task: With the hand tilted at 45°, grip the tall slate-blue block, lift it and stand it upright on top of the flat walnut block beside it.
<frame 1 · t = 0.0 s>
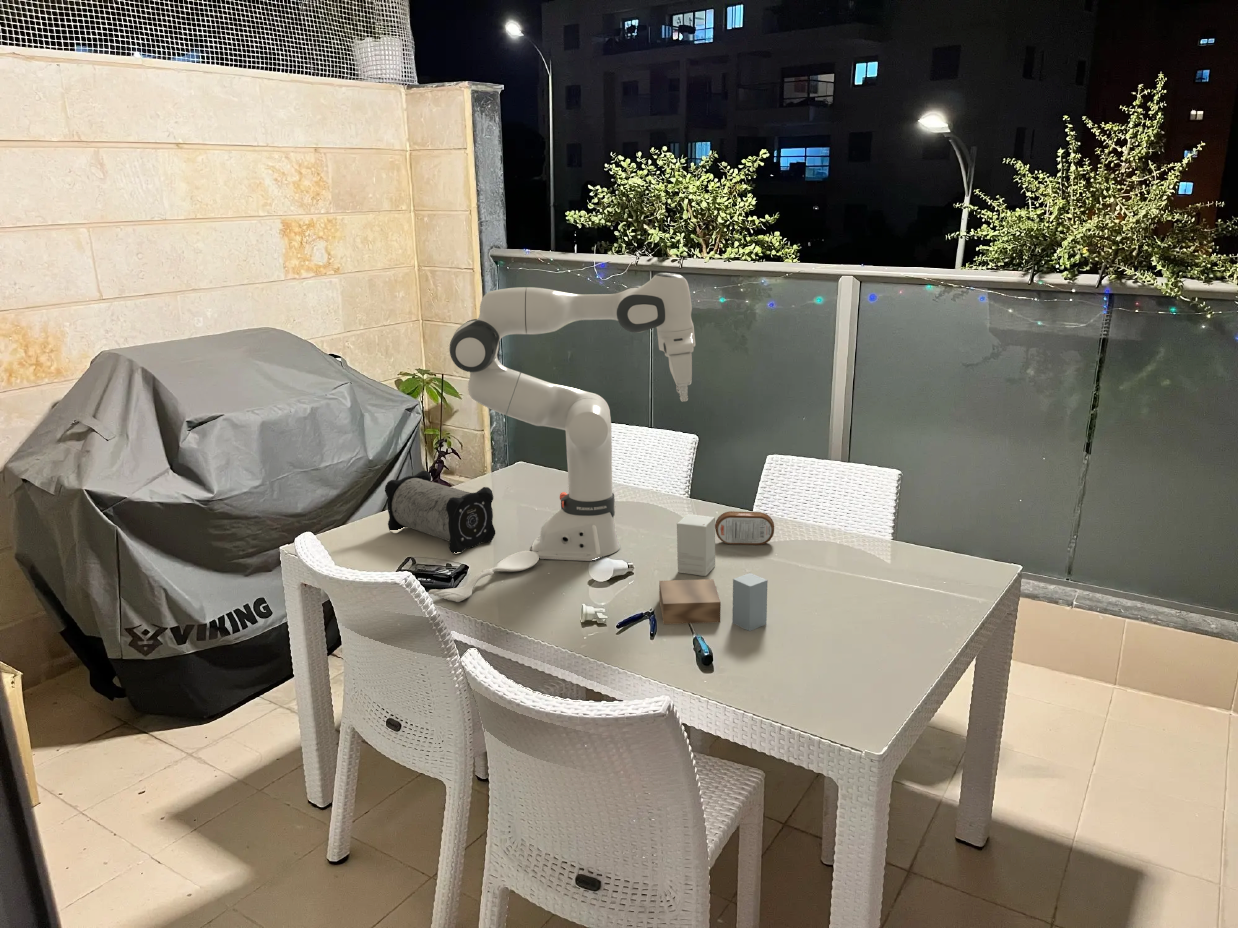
hand: (682, 396, 233), 39 cm above the table, tool pointing down, fingers open, 8 cm apart
slate block: (749, 623, 200), on the table
supplement box: (696, 570, 229), on the table
speaker: (441, 538, 253), on the table
tin: (744, 544, 244), on the table
walnut block: (689, 612, 206), on the table
spoon: (490, 583, 224), on the table
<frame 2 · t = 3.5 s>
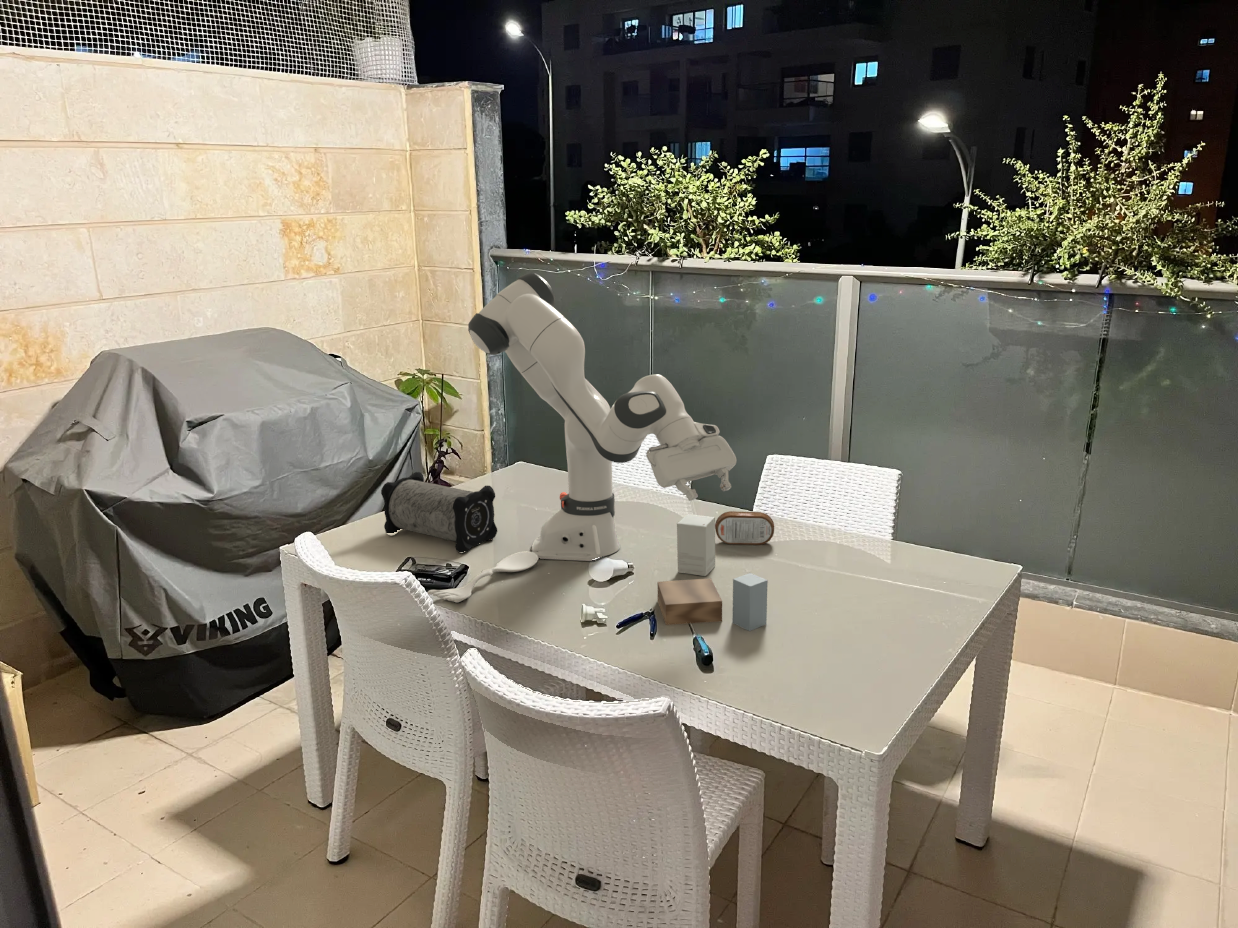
hand: (710, 494, 202), 26 cm above the table, tool tilted 45°, fingers open, 8 cm apart
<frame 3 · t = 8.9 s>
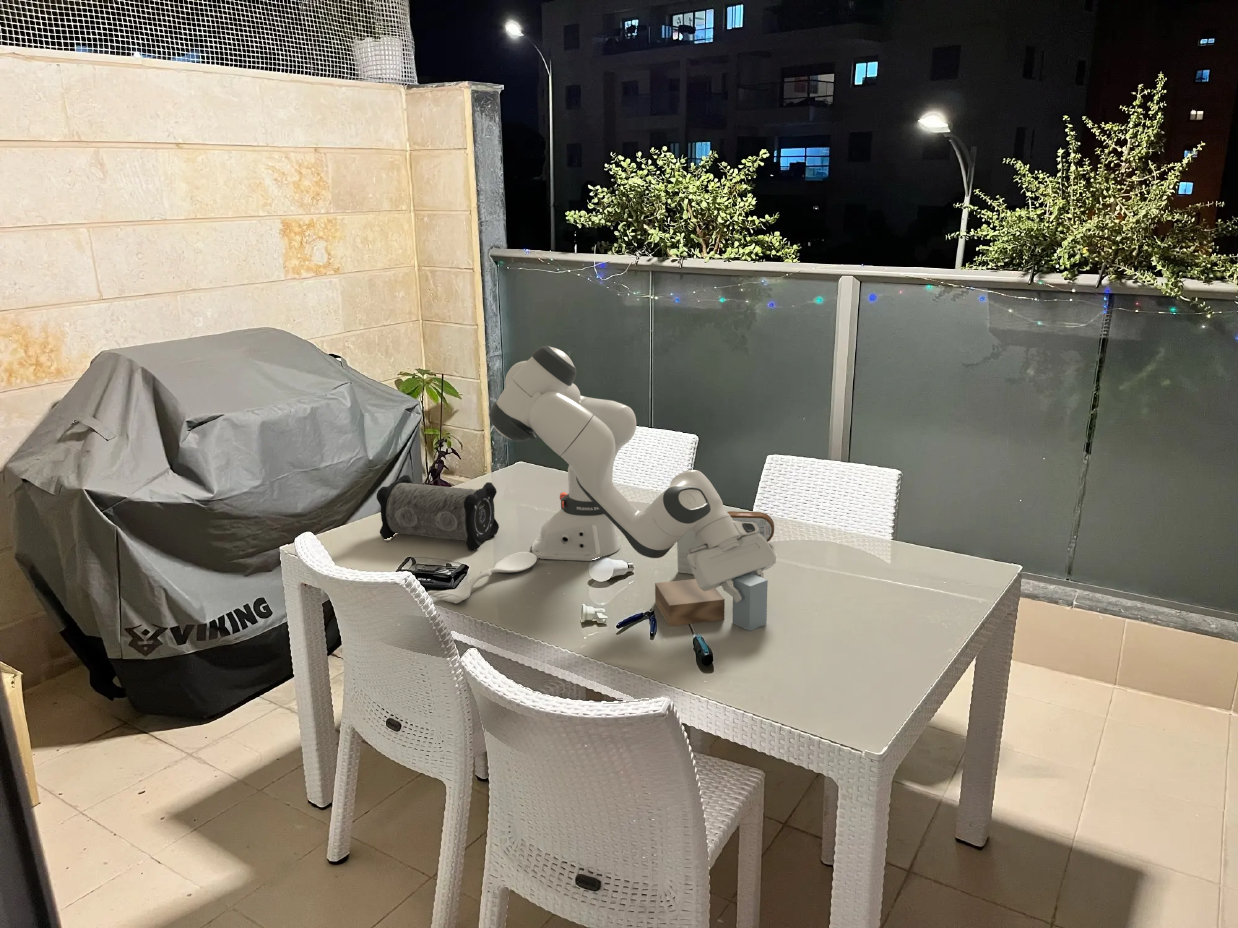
hand: (752, 596, 198), 6 cm above the table, tool tilted 45°, fingers closed on slate block, 5 cm apart
slate block: (749, 623, 200), on the table, touching gripper
when the fingers open (13 cm above the table, at t = 14.6 s): slate block drops 2 cm, resting on walnut block.
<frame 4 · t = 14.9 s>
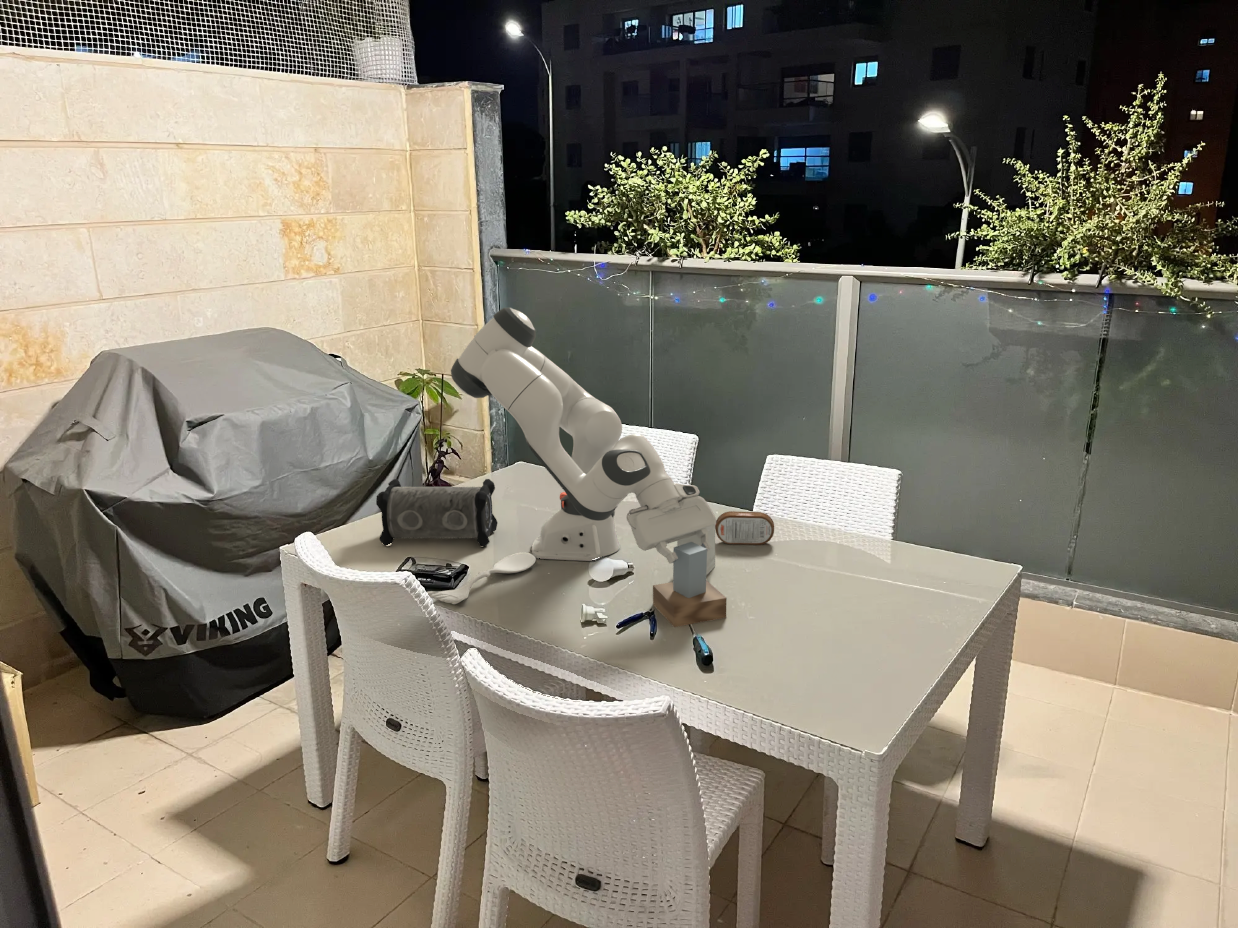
hand: (691, 556, 202), 13 cm above the table, tool tilted 45°, fingers open, 8 cm apart
slate block: (689, 590, 205), point 5 cm above the table, touching walnut block
walnut block: (689, 612, 206), on the table, touching slate block
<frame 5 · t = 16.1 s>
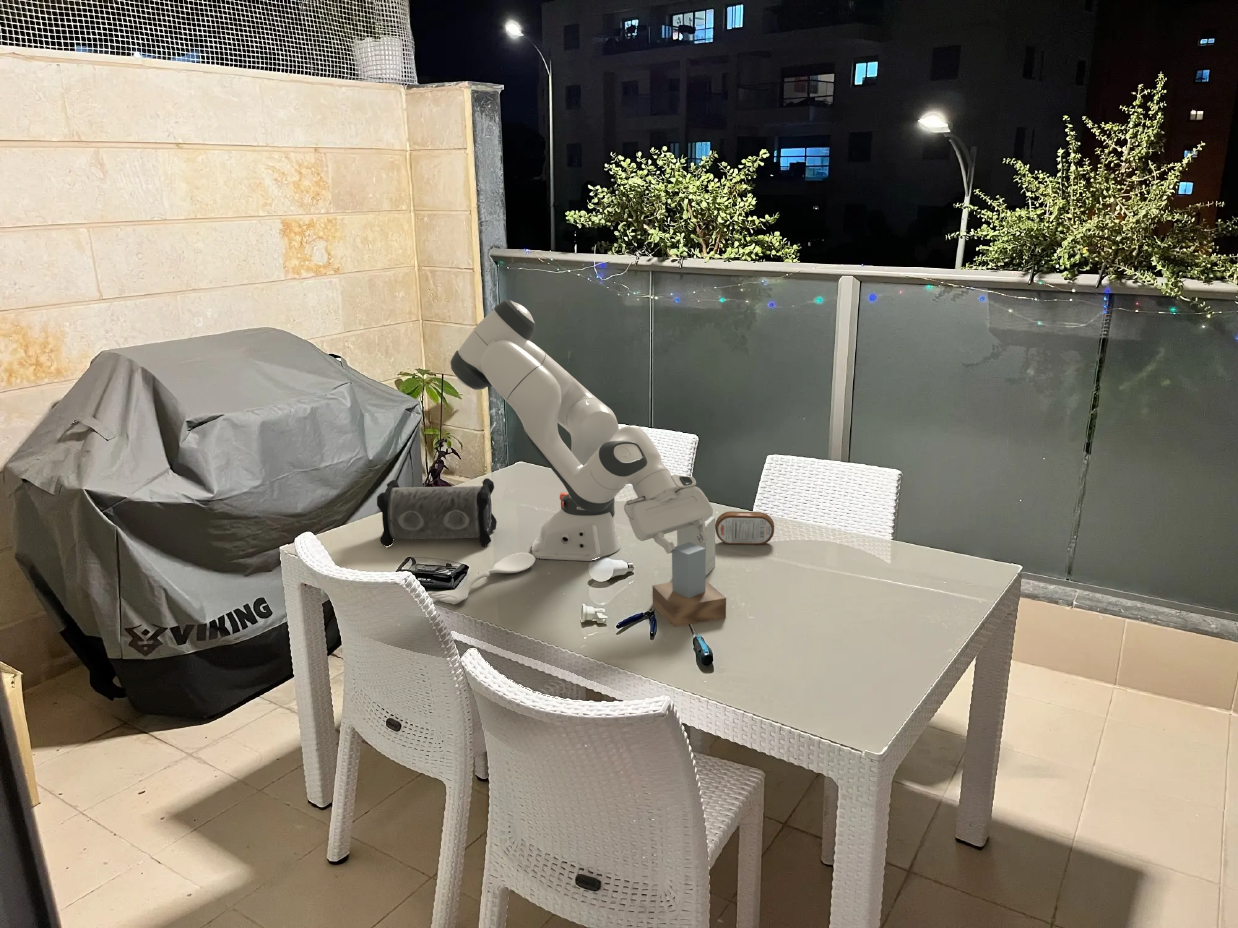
hand: (688, 546, 203), 14 cm above the table, tool tilted 45°, fingers open, 8 cm apart
slate block: (688, 591, 205), point 5 cm above the table
walnut block: (688, 612, 206), on the table
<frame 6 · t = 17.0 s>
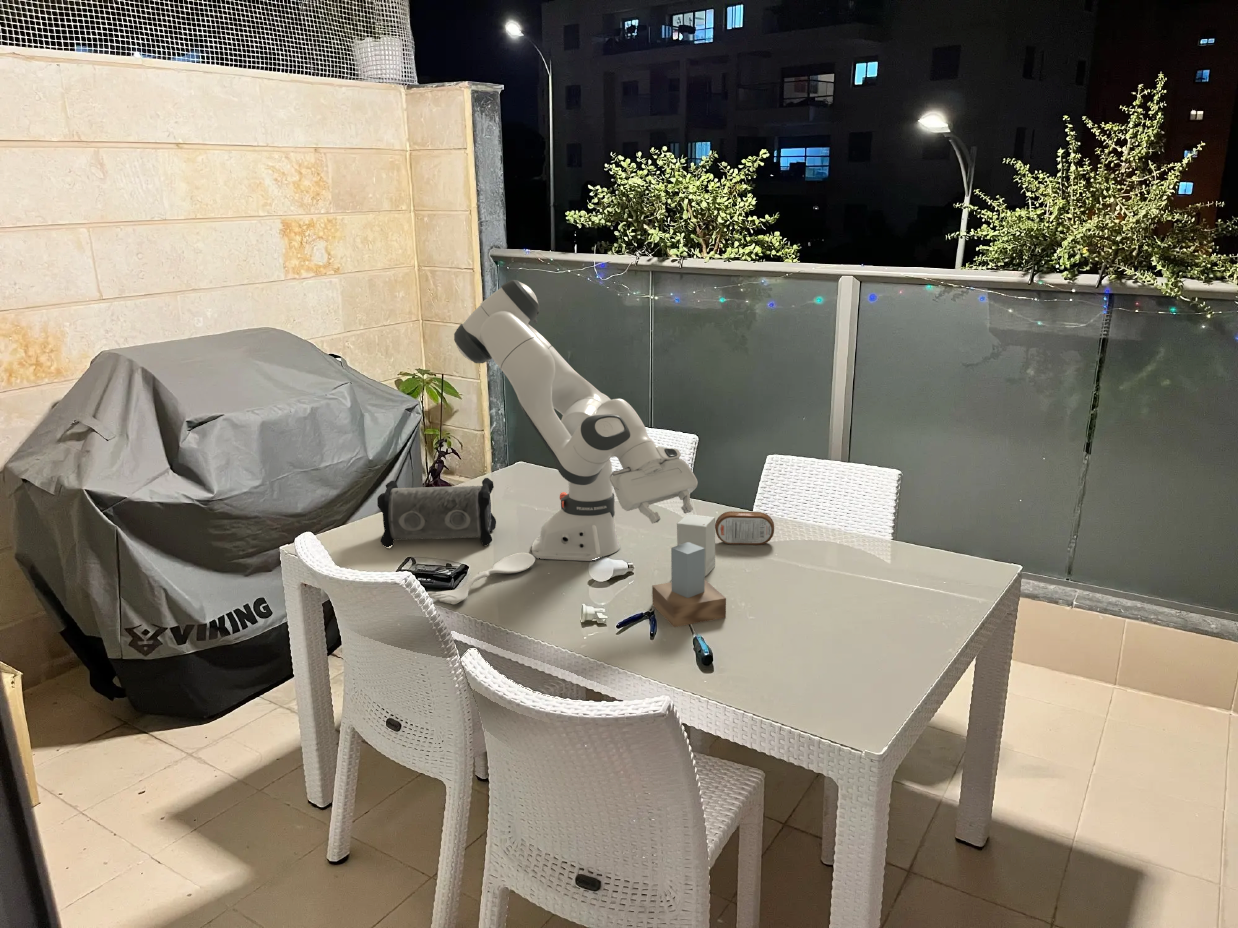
hand: (673, 516, 206), 20 cm above the table, tool tilted 45°, fingers open, 8 cm apart
slate block: (688, 591, 205), point 5 cm above the table, touching walnut block
walnut block: (688, 612, 206), on the table, touching slate block
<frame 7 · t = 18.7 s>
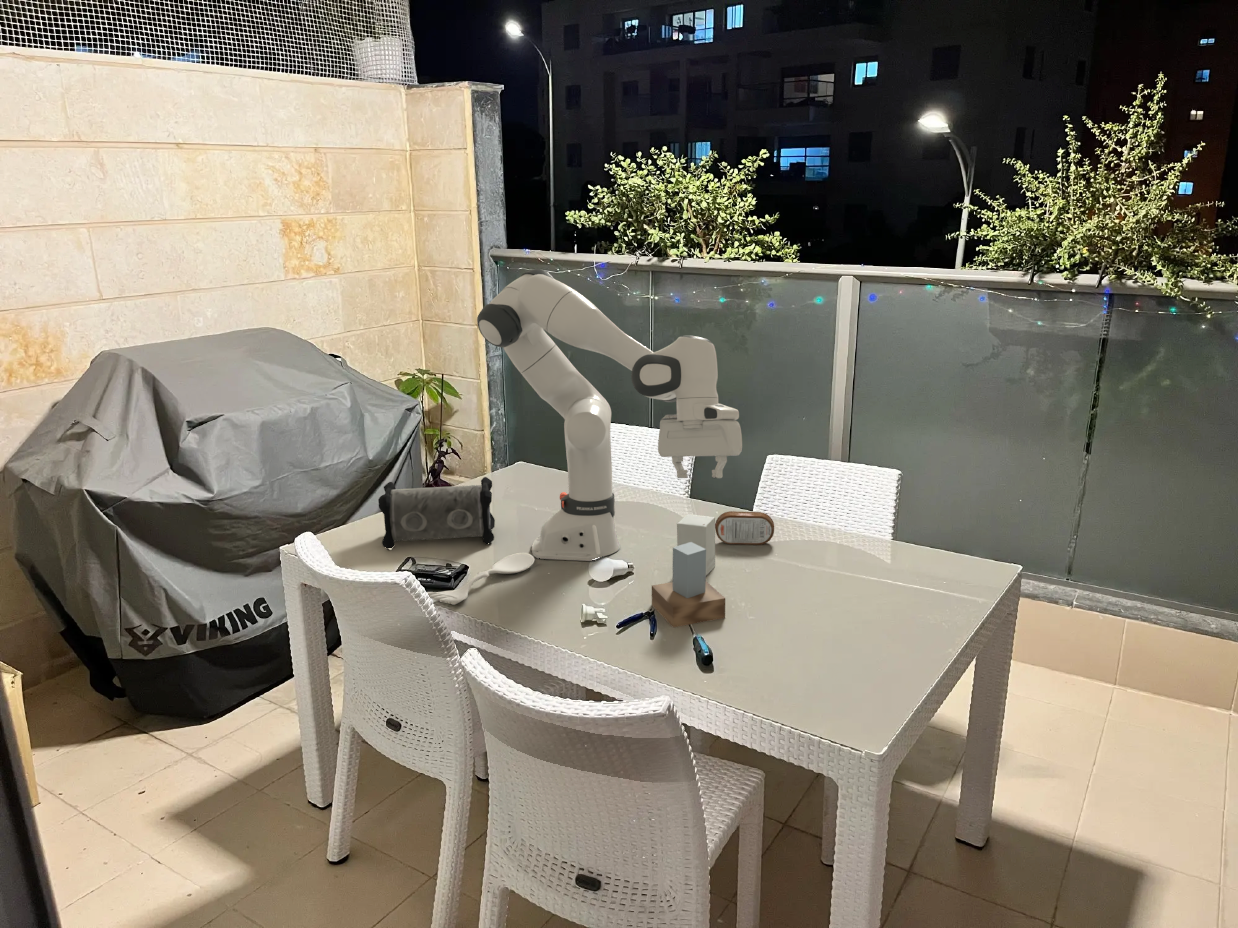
hand: (699, 478, 201), 29 cm above the table, tool tilted 15°, fingers open, 8 cm apart
slate block: (688, 591, 205), point 5 cm above the table
walnut block: (687, 612, 206), on the table
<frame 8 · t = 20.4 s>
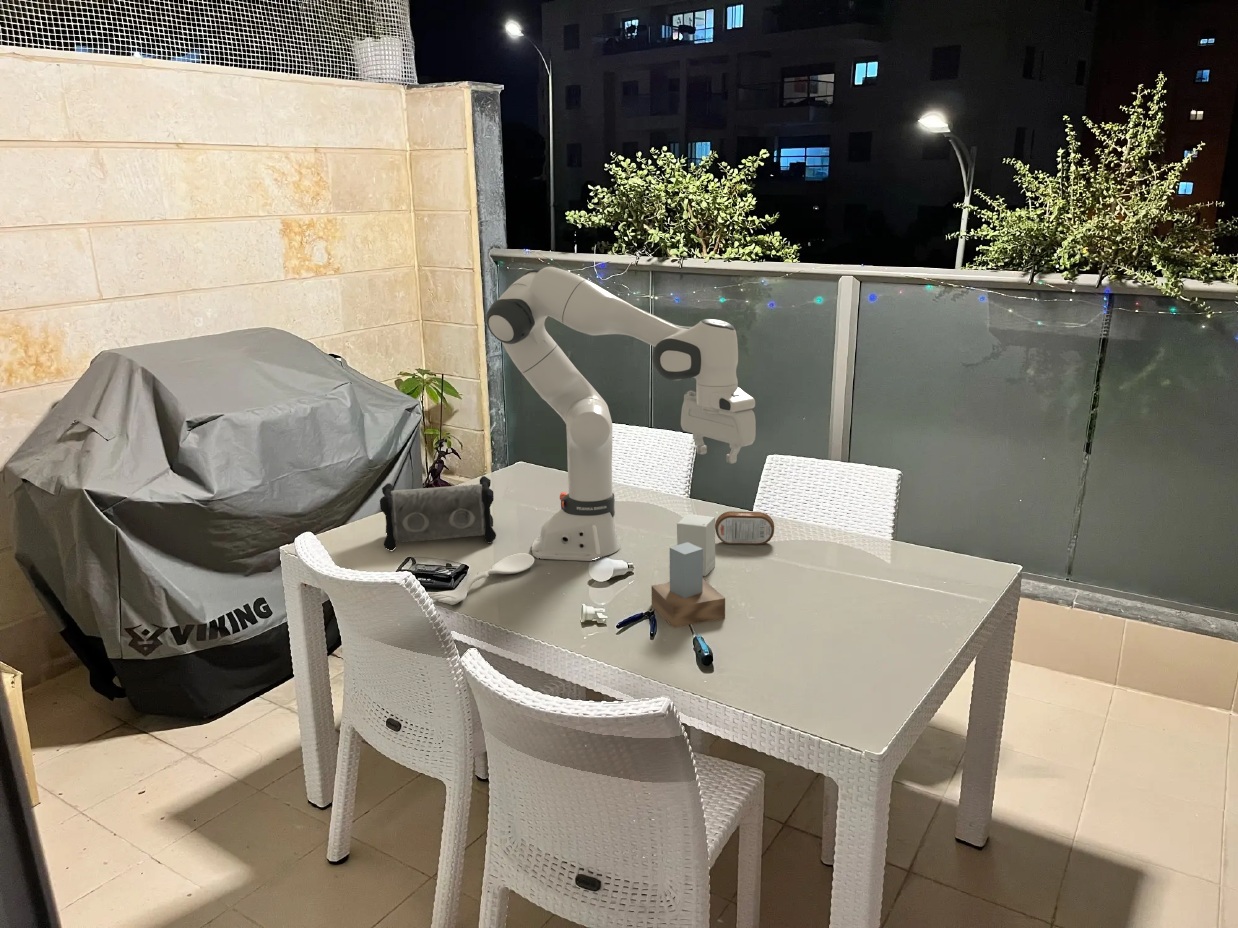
hand: (716, 457, 208), 31 cm above the table, tool pointing down, fingers open, 8 cm apart
at the end: slate block inside the target area on the walnut block (0.3 cm from its centre), point 5.1 cm above the walnut block's base; slate block tilted 1°; the gripper is holding nothing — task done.
